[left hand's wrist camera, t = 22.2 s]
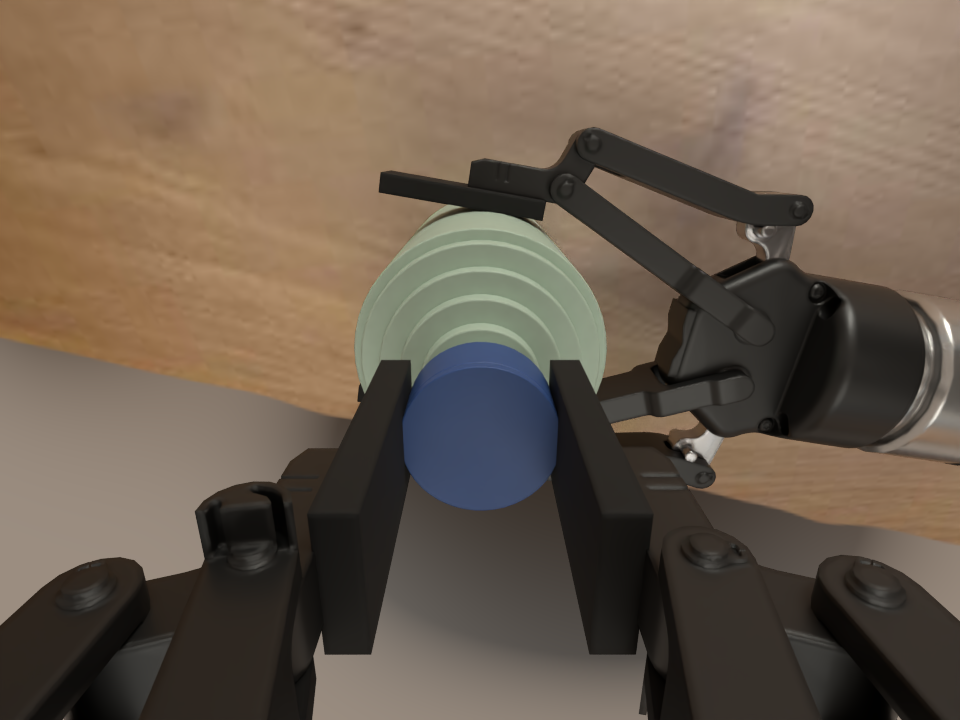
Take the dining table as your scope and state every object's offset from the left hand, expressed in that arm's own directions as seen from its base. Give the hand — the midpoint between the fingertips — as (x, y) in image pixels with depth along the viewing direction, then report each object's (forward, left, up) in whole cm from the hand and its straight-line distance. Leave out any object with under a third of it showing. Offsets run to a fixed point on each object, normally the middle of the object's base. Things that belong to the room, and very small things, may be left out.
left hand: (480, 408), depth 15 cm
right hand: (-5, -1, -11) cm, 12 cm away
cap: (0, 0, +2) cm, 2 cm away
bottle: (0, 0, -17) cm, 17 cm away
